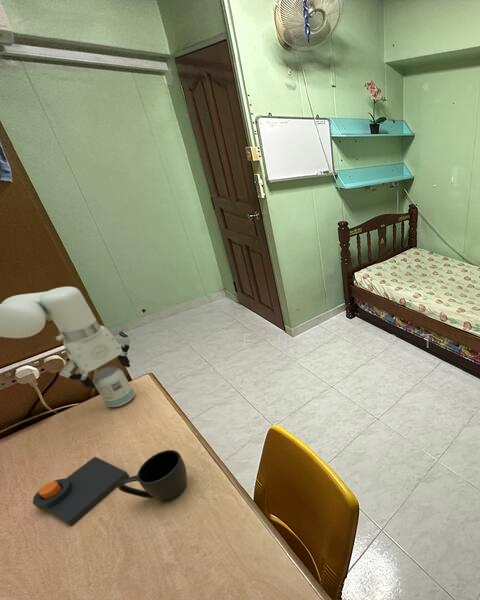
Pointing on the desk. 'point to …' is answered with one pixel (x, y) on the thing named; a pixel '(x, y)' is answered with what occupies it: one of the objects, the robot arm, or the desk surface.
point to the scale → (82, 490)
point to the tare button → (49, 490)
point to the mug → (159, 477)
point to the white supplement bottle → (113, 386)
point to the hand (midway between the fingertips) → (109, 376)
